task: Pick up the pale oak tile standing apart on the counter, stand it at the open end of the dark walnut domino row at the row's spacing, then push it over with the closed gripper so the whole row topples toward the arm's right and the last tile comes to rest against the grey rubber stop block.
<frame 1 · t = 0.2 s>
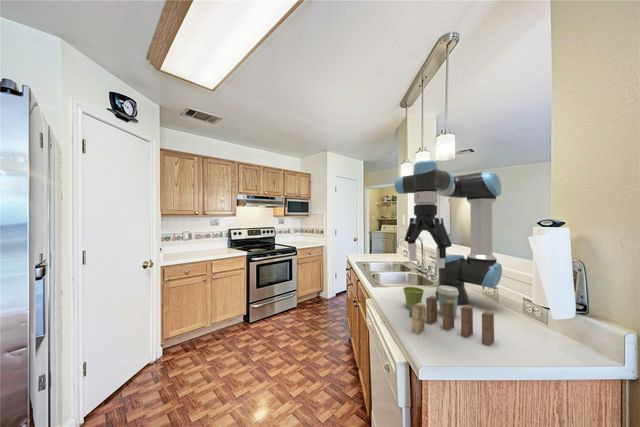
hand: (425, 264, 82), 26 cm above the worktop, fingers open, 13 cm apart
plant pot: (413, 308, 110), on the worktop
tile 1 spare: (418, 331, 87), on the worktop
tile 4: (448, 328, 90), on the worktop
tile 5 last: (432, 322, 95), on the worktop
tile 3: (467, 334, 84), on the worktop
stop block: (417, 316, 100), on the worktop
tile 2: (488, 342, 79), on the worktop
coffee cup: (448, 315, 101), on the worktop
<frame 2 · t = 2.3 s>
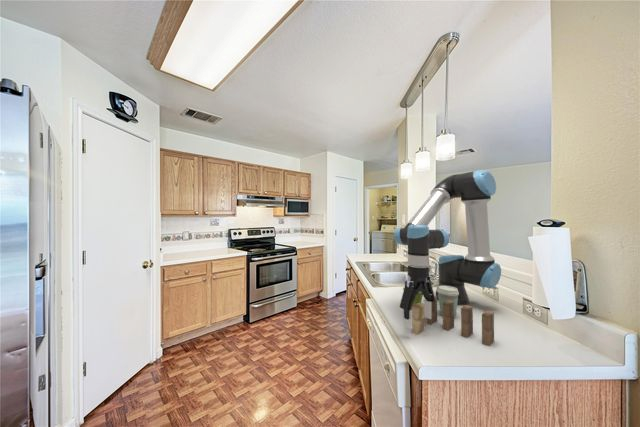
hand: (418, 322, 87), 3 cm above the worktop, fingers open, 13 cm apart
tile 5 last: (432, 322, 95), on the worktop, touching gripper
everything else where it was.
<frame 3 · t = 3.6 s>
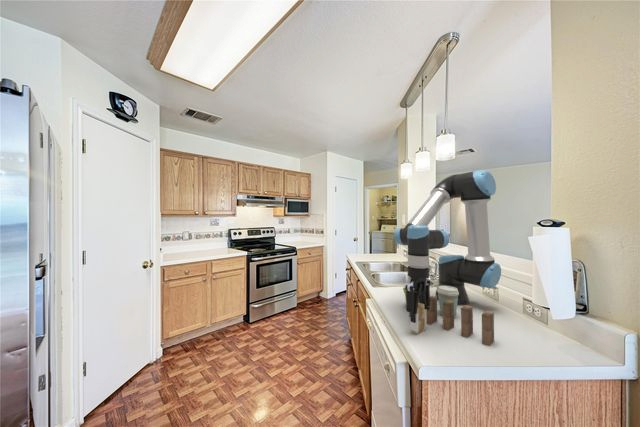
hand: (418, 328, 87), 1 cm above the worktop, fingers closed on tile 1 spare, 5 cm apart
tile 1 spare: (418, 331, 87), on the worktop, touching gripper
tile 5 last: (432, 322, 95), on the worktop
everything else where it was.
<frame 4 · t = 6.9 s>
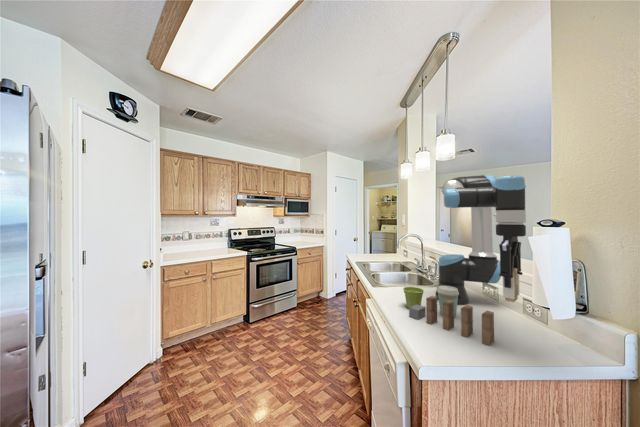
hand: (511, 295, 74), 18 cm above the worktop, fingers closed on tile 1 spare, 5 cm apart
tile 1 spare: (511, 299, 74), point 16 cm above the worktop, touching gripper
everything else where it was.
when the fingers open (2 cm above the worktop, at t = 10.2 s): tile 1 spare stays where it is, on the worktop.
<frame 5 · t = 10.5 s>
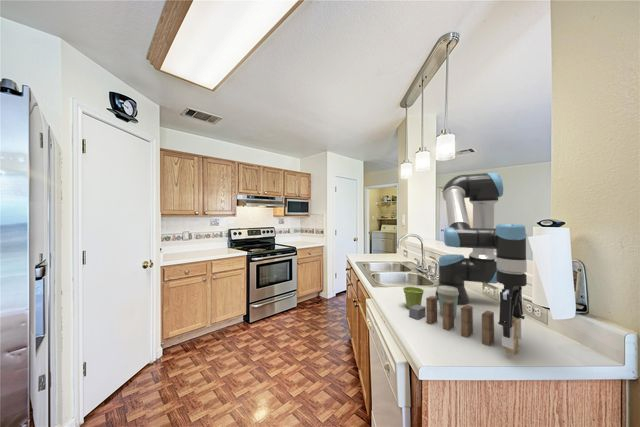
hand: (512, 342, 74), 3 cm above the worktop, fingers open, 8 cm apart
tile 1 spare: (512, 351, 74), on the worktop
everything else where it was.
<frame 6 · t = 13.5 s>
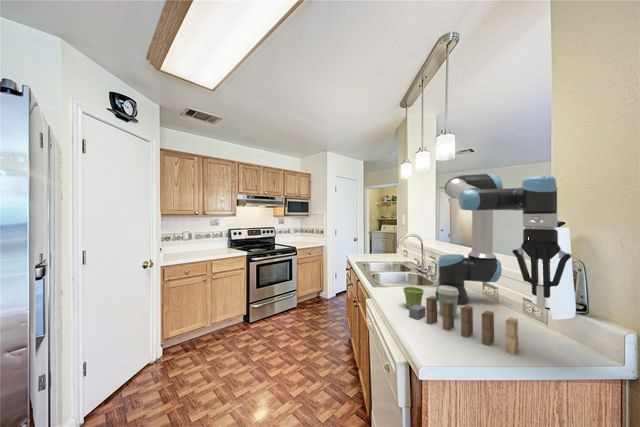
hand: (541, 307, 69), 16 cm above the worktop, fingers closed
nothing on the worktop moved.
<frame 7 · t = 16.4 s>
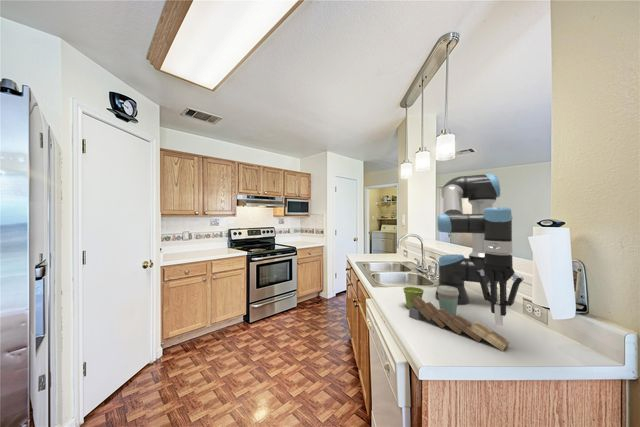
hand: (498, 324, 77), 7 cm above the worktop, fingers closed
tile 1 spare: (506, 346, 75), point 1 cm above the worktop, tilted 71°, touching tile 2
tile 4: (446, 325, 90), point 1 cm above the worktop, tilted 56°, touching tile 3, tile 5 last
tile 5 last: (433, 318, 94), point 2 cm above the worktop, tilted 55°, touching stop block, tile 4
tile 3: (463, 330, 85), point 1 cm above the worktop, tilted 64°, touching tile 2, tile 4
tile 2: (482, 337, 80), point 1 cm above the worktop, tilted 69°, touching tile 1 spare, tile 3
everything else where it was.
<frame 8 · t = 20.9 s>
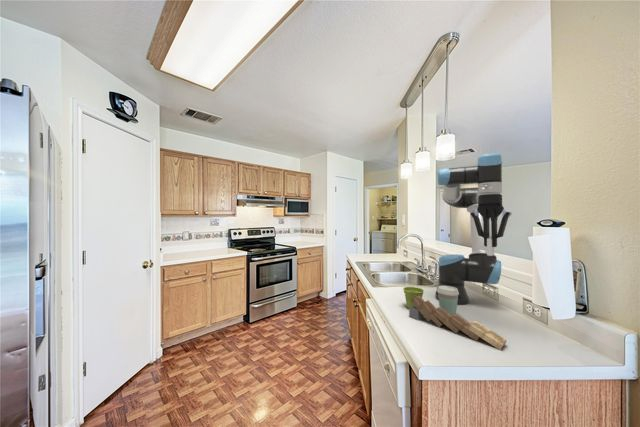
hand: (490, 255, 89), 28 cm above the worktop, fingers closed
tile 4: (443, 324, 91), point 1 cm above the worktop, tilted 52°, touching tile 3, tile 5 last
tile 3: (460, 329, 86), point 1 cm above the worktop, tilted 62°, touching tile 2, tile 4
at the end: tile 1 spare tilted 71°; tile 3 tilted 62°; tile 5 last tilted 52° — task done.
